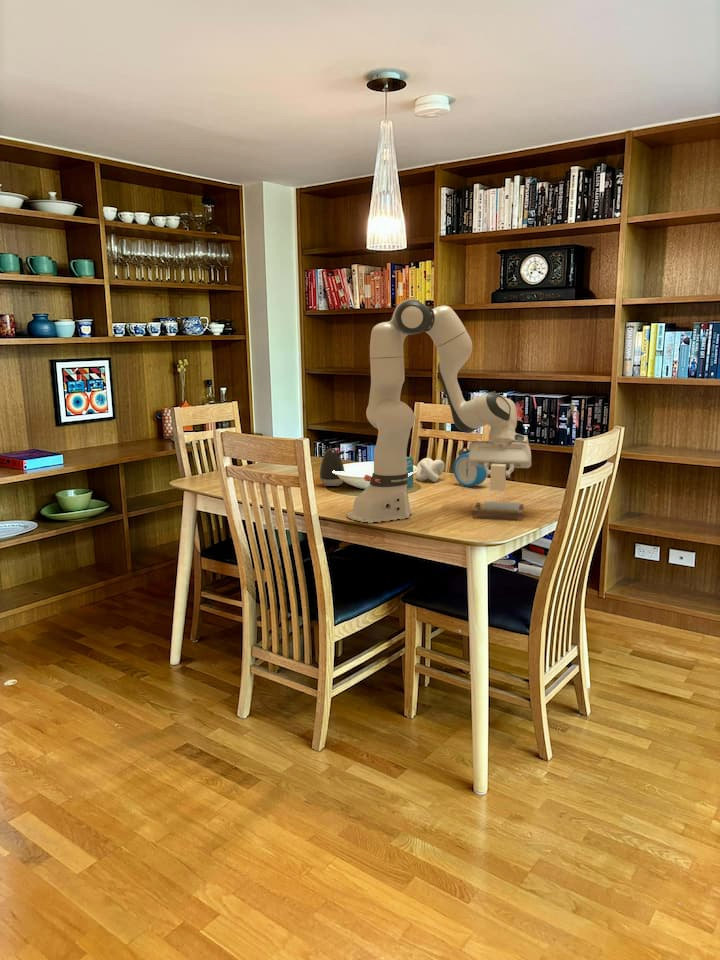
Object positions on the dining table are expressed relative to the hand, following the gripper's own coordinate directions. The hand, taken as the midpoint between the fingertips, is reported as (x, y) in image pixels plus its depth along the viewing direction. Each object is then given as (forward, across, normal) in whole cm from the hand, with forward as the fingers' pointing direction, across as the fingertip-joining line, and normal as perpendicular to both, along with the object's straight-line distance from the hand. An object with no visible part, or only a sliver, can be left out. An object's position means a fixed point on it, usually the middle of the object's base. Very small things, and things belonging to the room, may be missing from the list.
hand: (498, 476), depth 238 cm
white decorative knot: (-32, -32, +53) cm, 70 cm away
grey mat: (0, 0, +20) cm, 21 cm away
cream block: (+3, 0, +4) cm, 4 cm away
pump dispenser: (-20, -69, +42) cm, 83 cm away
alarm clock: (-27, -15, +48) cm, 57 cm away
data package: (-20, -41, +42) cm, 62 cm away
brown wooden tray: (+9, 0, +12) cm, 15 cm away
